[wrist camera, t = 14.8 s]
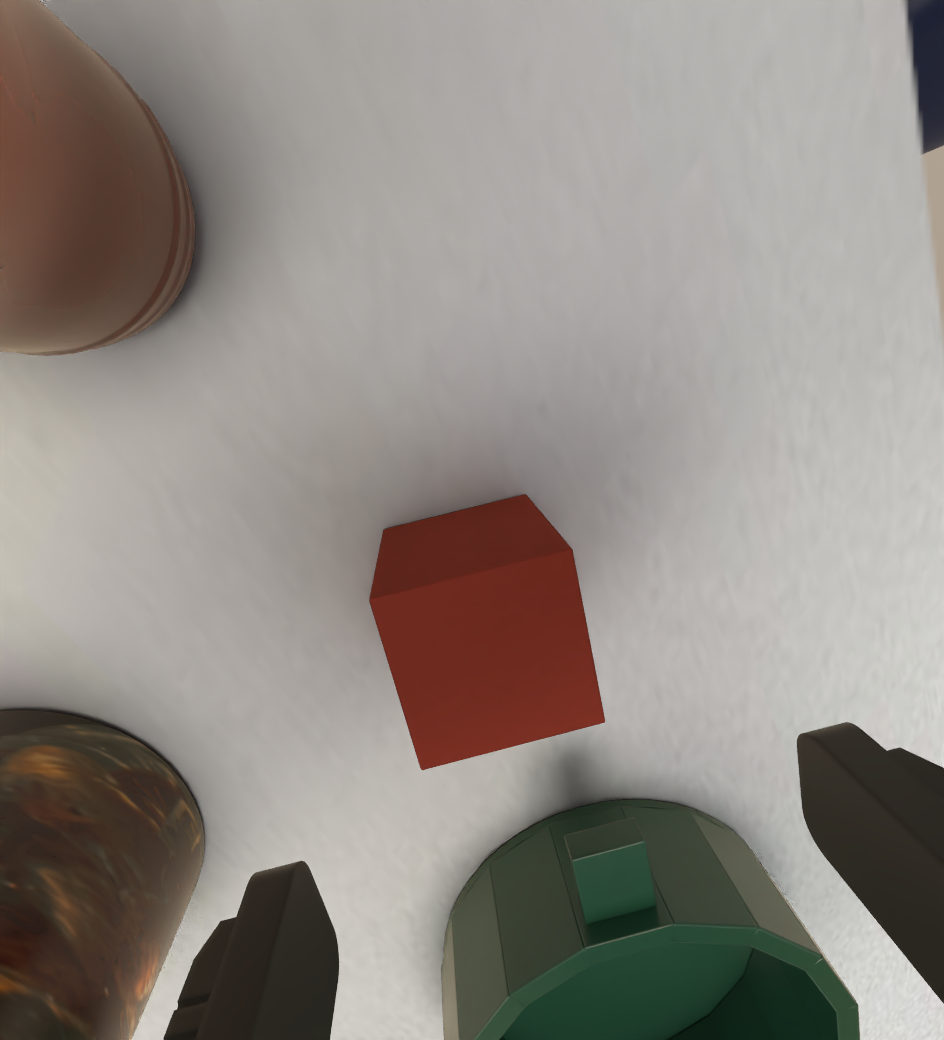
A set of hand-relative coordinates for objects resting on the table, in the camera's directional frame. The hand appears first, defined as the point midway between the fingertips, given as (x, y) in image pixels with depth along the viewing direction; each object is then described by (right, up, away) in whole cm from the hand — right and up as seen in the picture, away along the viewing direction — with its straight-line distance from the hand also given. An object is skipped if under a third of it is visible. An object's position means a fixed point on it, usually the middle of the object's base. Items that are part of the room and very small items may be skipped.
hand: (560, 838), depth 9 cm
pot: (+5, -13, +16) cm, 21 cm away
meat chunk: (-1, +3, +11) cm, 11 cm away
